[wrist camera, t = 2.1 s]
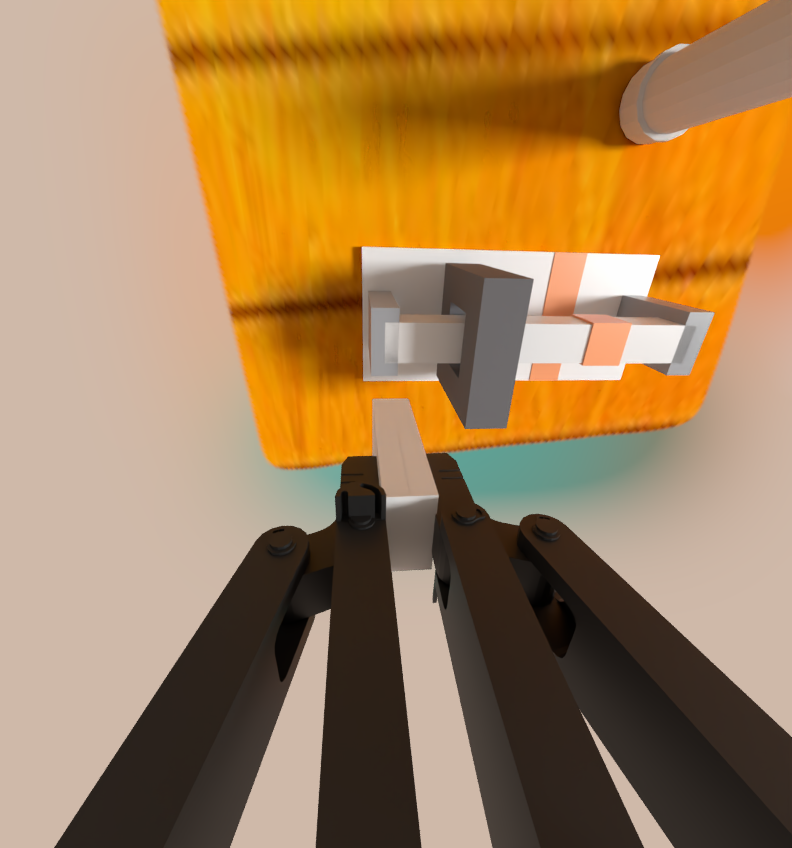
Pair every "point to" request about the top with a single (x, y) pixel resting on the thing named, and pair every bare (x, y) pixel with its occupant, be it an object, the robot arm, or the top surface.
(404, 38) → the top surface
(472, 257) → the rail
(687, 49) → the pipe
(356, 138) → the top surface
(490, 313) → the collar
